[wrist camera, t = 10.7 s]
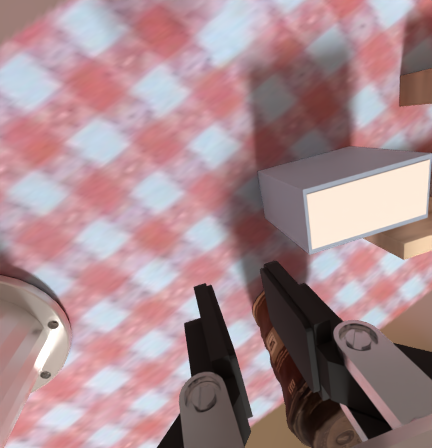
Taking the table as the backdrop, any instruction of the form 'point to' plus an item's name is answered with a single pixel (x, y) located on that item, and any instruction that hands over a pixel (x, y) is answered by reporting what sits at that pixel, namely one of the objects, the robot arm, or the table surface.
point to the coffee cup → (303, 394)
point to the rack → (428, 228)
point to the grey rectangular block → (345, 195)
